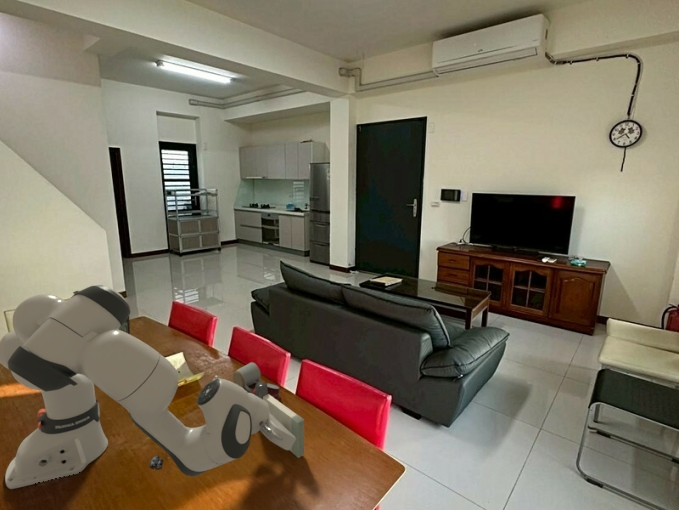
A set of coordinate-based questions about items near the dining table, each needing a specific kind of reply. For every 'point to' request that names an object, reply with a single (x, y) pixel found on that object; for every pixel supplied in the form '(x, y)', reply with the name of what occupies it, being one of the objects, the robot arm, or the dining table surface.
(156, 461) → the blueberries
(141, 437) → the dining table surface
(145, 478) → the dining table surface
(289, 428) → the cream flat block
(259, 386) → the hinge post
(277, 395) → the canned food
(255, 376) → the ceramic mug
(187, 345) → the dining table surface
